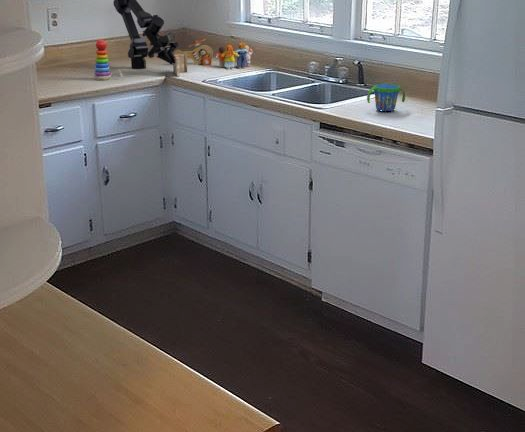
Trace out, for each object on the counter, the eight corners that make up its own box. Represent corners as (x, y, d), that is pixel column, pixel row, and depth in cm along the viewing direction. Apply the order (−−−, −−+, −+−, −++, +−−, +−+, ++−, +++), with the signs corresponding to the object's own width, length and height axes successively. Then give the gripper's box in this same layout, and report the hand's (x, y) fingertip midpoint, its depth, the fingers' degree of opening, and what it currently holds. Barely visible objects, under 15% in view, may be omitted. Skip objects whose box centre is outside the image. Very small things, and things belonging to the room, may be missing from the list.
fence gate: (173, 71, 404) (172, 53, 401) (177, 71, 405) (176, 53, 401) (176, 76, 393) (175, 57, 390) (180, 76, 394) (180, 57, 390)
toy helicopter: (213, 66, 422) (213, 40, 418) (173, 67, 421) (172, 40, 416) (213, 63, 430) (212, 37, 425) (173, 64, 428) (172, 38, 423)
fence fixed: (178, 72, 403) (177, 53, 400) (178, 72, 405) (177, 53, 401) (187, 72, 404) (187, 53, 401) (186, 71, 406) (186, 52, 402)
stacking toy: (97, 81, 387) (94, 41, 380) (92, 78, 393) (89, 39, 386) (113, 79, 390) (110, 40, 383) (108, 76, 397) (105, 38, 390)
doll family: (251, 65, 426) (251, 40, 421) (259, 68, 418) (259, 42, 413) (214, 68, 417) (213, 42, 413) (221, 71, 409) (221, 45, 405)
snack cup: (401, 107, 337) (403, 83, 333) (407, 113, 327) (408, 88, 323) (364, 107, 336) (365, 83, 332) (368, 113, 326) (370, 88, 323)
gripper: (151, 29, 384) (171, 56, 383) (175, 25, 399) (193, 50, 398) (139, 44, 391) (158, 70, 390) (162, 39, 406) (181, 64, 405)
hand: (173, 63), depth 395 cm, fingers closed
